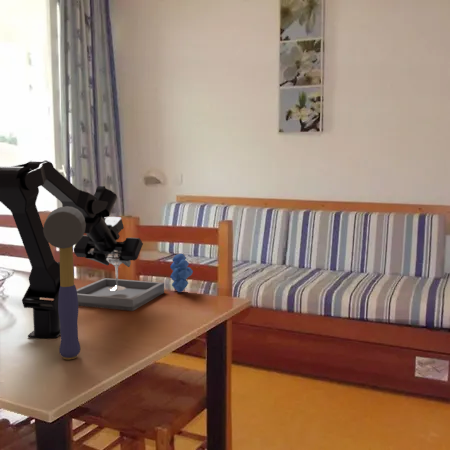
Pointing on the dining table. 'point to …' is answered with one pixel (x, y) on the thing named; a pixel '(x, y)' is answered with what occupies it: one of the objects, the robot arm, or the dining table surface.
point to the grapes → (180, 272)
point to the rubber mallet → (66, 272)
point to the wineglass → (114, 260)
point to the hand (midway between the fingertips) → (118, 264)
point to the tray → (119, 294)
